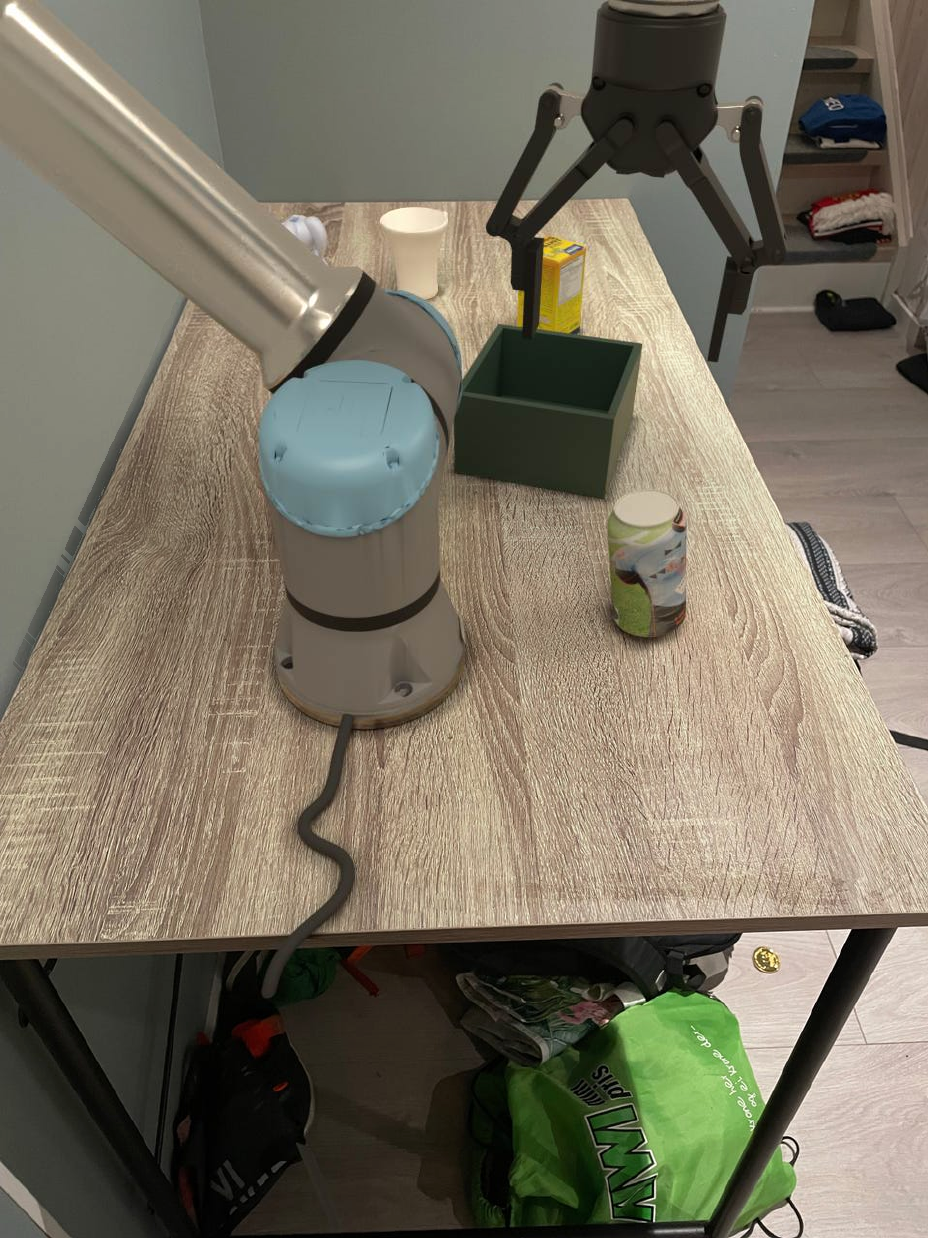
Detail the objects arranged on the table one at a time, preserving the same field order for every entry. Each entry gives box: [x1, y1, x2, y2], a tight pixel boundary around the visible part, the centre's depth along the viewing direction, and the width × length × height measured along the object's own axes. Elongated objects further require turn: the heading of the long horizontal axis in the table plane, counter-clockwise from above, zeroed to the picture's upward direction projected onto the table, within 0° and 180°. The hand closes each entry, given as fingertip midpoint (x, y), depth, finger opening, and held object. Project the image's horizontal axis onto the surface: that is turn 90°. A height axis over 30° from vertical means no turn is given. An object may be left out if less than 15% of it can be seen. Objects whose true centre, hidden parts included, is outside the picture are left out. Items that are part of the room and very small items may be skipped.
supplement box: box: [516, 234, 587, 334], centre depth 112 cm, size 6×6×11 cm
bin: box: [453, 323, 643, 500], centre depth 94 cm, size 16×16×9 cm
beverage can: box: [606, 488, 688, 638], centre depth 73 cm, size 6×7×12 cm
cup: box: [379, 206, 449, 301], centre depth 122 cm, size 9×9×10 cm
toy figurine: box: [281, 214, 330, 266], centre depth 118 cm, size 7×6×12 cm
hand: (620, 342), depth 68 cm, fingers open, 13 cm apart
